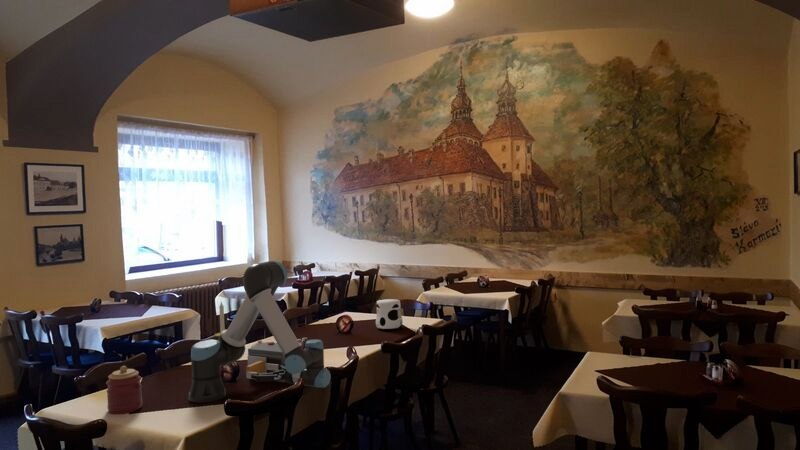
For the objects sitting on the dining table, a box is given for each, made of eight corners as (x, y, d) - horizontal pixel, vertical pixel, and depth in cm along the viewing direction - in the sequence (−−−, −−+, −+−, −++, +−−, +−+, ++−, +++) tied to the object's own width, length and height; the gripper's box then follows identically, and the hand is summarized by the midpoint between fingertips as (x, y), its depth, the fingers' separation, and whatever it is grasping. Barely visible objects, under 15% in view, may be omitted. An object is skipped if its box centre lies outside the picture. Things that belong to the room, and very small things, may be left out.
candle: (213, 366, 294) (210, 303, 292) (214, 361, 303) (211, 300, 302) (233, 364, 296) (231, 301, 295) (234, 359, 306) (231, 299, 305)
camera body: (285, 383, 261) (284, 351, 260) (248, 378, 270) (246, 347, 270) (304, 374, 274) (303, 343, 274) (267, 370, 284) (266, 340, 283)
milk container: (372, 327, 375) (372, 300, 375) (398, 324, 381) (397, 298, 380) (380, 332, 359) (379, 304, 358) (406, 330, 364) (405, 302, 363)
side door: (250, 384, 254) (249, 364, 254) (232, 381, 259) (231, 362, 258) (267, 376, 265) (266, 357, 265) (250, 374, 269) (249, 355, 269)
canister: (148, 402, 241) (145, 361, 240) (134, 413, 228) (132, 369, 227) (116, 404, 240) (114, 362, 240) (101, 415, 227) (99, 371, 227)
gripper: (278, 392, 234) (238, 387, 244) (313, 375, 257) (275, 371, 266) (278, 374, 234) (237, 369, 243) (312, 359, 257) (274, 355, 266)
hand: (257, 370), depth 255 cm, fingers open, 13 cm apart
